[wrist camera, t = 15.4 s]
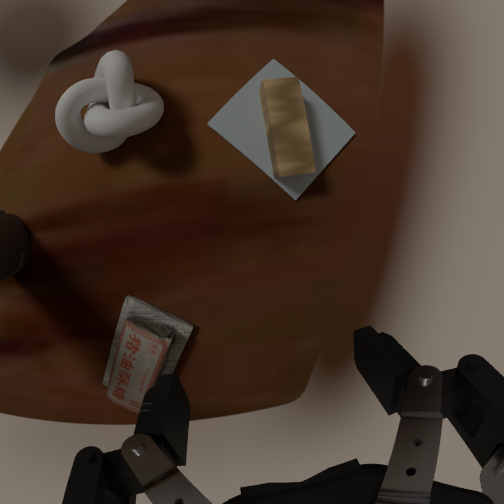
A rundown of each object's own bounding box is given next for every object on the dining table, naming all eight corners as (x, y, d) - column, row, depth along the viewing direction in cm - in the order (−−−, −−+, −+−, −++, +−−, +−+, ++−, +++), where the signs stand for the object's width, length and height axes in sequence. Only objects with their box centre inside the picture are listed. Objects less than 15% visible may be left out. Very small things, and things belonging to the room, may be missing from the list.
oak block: (279, 176, 29) (262, 79, 26) (273, 177, 33) (258, 90, 30) (315, 172, 29) (298, 77, 27) (305, 173, 33) (290, 87, 30)
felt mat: (207, 124, 31) (207, 123, 31) (272, 60, 30) (273, 58, 29) (294, 200, 34) (295, 200, 34) (354, 133, 33) (355, 132, 32)
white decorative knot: (110, 180, 32) (76, 182, 23) (66, 117, 29) (29, 104, 20) (179, 120, 31) (164, 101, 22) (129, 59, 28) (105, 30, 19)
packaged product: (154, 424, 36) (94, 398, 34) (158, 404, 41) (104, 380, 39) (191, 339, 33) (116, 306, 31) (195, 321, 38) (128, 291, 36)
